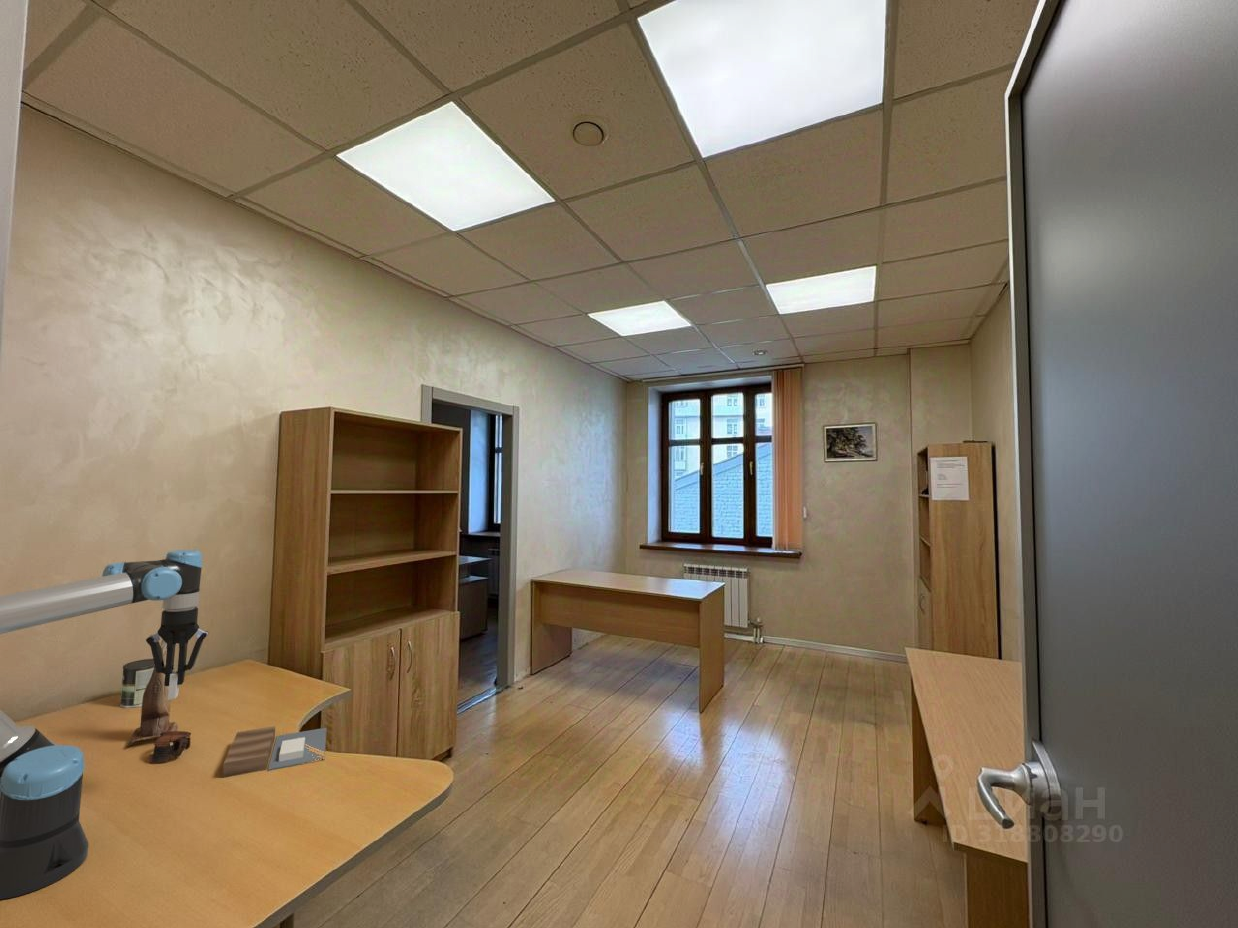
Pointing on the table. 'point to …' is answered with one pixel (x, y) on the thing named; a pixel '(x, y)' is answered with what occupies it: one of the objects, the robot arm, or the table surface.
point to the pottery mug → (165, 750)
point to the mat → (312, 739)
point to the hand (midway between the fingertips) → (173, 697)
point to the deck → (249, 751)
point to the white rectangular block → (292, 749)
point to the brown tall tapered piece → (155, 707)
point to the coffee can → (135, 682)
